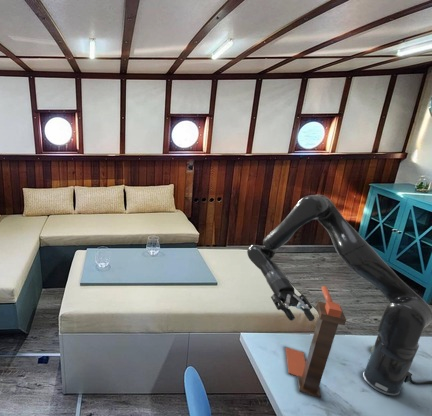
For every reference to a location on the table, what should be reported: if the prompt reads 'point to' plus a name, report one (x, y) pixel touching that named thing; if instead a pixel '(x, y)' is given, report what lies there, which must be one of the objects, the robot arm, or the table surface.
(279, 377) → the table surface
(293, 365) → the terracotta mat
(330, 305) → the orange toy mallet
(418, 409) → the table surface
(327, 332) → the wooden square pillar
